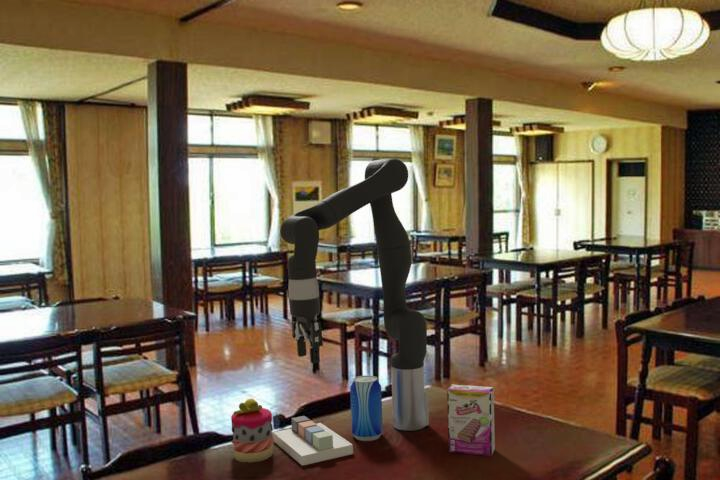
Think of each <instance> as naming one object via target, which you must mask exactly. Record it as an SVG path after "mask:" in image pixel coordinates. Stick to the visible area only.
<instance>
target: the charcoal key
mask: <svg viewBox="0 0 720 480" xmlns="http://www.w3.org/2000/svg"><path fill="white" fill-rule="evenodd" d="M306 421H311V419H310V418H309V417H307V416H305V415H302V416H301V415H300V416H297V417H291V429H292V431H293V432H294V433H296V434H299V431H298V423H301V422H306Z"/></svg>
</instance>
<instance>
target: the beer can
mask: <svg viewBox="0 0 720 480" xmlns="http://www.w3.org/2000/svg"><path fill="white" fill-rule="evenodd" d="M352 381H353V382H352V383H351V385H350V387H349V390H350V391H349V393H350V417H351V418H350V419H351V420H350V421H351V433H352V435H353V436H354V438H355V439H356V440H358V441H361V442H372V441H376V440H378V439H379V438H381V435H382V434H383V431H384V430H383V429H384V428H383V426H384V425H383V403H382V402H383V401H382V385H381V383H380V382H379V380H378V377H377V376H374V375H359V376H355V377H354V378H353V379H352Z"/></svg>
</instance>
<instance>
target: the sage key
mask: <svg viewBox="0 0 720 480" xmlns="http://www.w3.org/2000/svg"><path fill="white" fill-rule="evenodd" d="M313 447H314V448H315V449H316V450H318V451H322V450H327V449H331V448H333V435H332V434H330V433H329V432H327V431H323V432H318V433H313Z"/></svg>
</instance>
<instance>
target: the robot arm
mask: <svg viewBox="0 0 720 480" xmlns="http://www.w3.org/2000/svg"><path fill="white" fill-rule="evenodd" d="M408 180H409V169H408V167H407V165H406V164H405V162H403V161H402V160H400V159H397V158H383V159H375V160H372V161H370V162H369V163H368V164H367V166H366V167H365V169H364V180H362V181H360V182H358V183H355V184H353V185H350V186H347V187H345V188H343V189H341V190H338V191H336V192H334V193H332V194H331V195H328V196H327V197H324V199H322V200H320V201H319V202H317V203H316V204H314V205H312V206H310V207H307V208H305V209H302V210H301V211H298V212H295V213H294V214H292V215H289V216H288V217H287V218H286V219H285V220H284V221H283V222H282V223H281V225H280V230H279V233H280V237H281V239H282V240H283V241H284V242H286V244H287V243H288V244H290V245H294V249H293V250H294V251H293V255H290V256H289V257H288V259H287V272H288V274H287V275H288V288H287V289H288V300H289V301H288V303H289V314H290V316H291V332H292V334H291V335H292V338H293V339H294V341H295V342H296V348H297V351H296V352H297V357H301V358H302V357H306V356H307V344H308V347H309V359H310V363H311V364H317V363H320V361H321V360H320V348H321V347H323V346H324V344H323V343H324V341H323V331H322V329H323V328H322V323H321V321H316V319H315V316H317V315H319V314H320V312H321V303H320V291H319V283H318V277H317V265H316V263H317V262H316V259H317V255H318V248H319V243H320V231H321V230H326V229H330V228H331V227H333V226H335V225H337V224H338V223H340V222H341V221H343V220H345V219H346V218H347V217H349V216H350V215H352V214H353V213H356V212H357V211H359V210H360V209H362V208H364V207H365V206H367V205H369V204H370V209H371V214H372V222H373V228H374V233H375V235H374V236H375V244H376V250H377V259H378V265H379V272H380V279H381V280H380V281H381V289H382V299H383V300H382V301H383V304H382V305H383V306H382V307H383V324H384V329H385V333H386V334H387V335H388V337H389V338H391V339H393V340H396V341H399V343H398V344H399V346H398V352H396V353H394V354H393V355H391V357H390V369H391V370H390V372H391V373H390V374H391V376H390V377H391V394H392V395H391V398H392V399H391V400H392V401H391V402H392V403H391V404H392V426H393V428H395V429H397V430H399V431H406V432H407V431H408V432H409V431H419V430H422V429H424V428H425V427H426V426H429V424H430V421H429V420H430V419H429V418H430V417H429V395H428V391H426V389H425V358H426V355H427V343H428V342H427V336H428V335H427V334H428V333H427V331H428V330H427V329H428V326H427V321H426V318H425V316H424V314H422V312H420V311H418V310H415V309H410V308H408V304H407V297H406V284H407V281H408V278H409V275H410V271H411V267H412V261H413V259H412V251H411V244H410V243H411V242H410V237H409V235H408V233H407V231H406V228H405V227H404V225H403V224H402V221H401V219H400V218H399V216H398V214H397V213H396V210H395V207H394V203H393V197H392V195H393V193H396V192H398V191H401V190H402V189H403V188H404V187H405V186H406V185H407V184H408V183H407V182H408Z"/></svg>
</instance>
